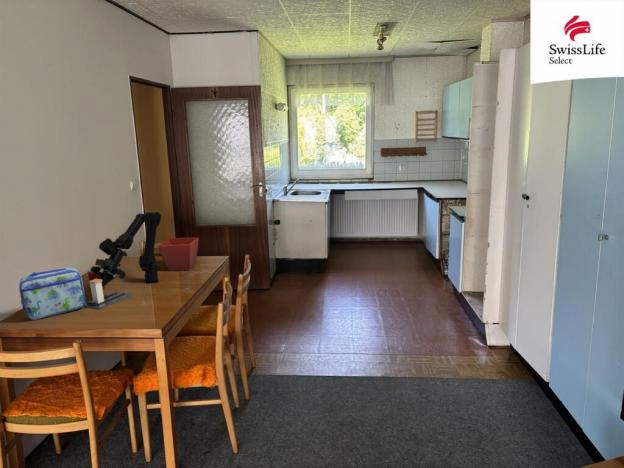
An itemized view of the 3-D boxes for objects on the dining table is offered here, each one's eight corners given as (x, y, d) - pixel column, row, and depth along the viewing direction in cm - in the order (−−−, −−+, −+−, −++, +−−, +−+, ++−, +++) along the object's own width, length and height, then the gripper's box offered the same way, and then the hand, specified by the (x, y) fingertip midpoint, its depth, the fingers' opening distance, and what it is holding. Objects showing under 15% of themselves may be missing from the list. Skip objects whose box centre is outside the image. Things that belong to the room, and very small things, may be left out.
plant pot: (171, 263, 297) (168, 238, 293) (201, 262, 296) (198, 237, 292) (161, 273, 278) (157, 245, 274) (192, 272, 277) (189, 244, 273)
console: (114, 292, 246) (113, 288, 245) (131, 295, 241) (131, 290, 240) (82, 306, 228) (81, 301, 227) (100, 309, 223) (99, 304, 222)
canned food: (100, 291, 250) (97, 271, 247) (87, 290, 251) (84, 271, 249) (109, 286, 257) (106, 267, 255) (96, 286, 259) (93, 266, 256)
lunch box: (24, 323, 210) (16, 279, 205) (23, 316, 219) (15, 273, 214) (87, 309, 223) (81, 267, 219) (84, 303, 232) (78, 262, 228)
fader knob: (99, 299, 232) (95, 278, 230) (105, 300, 230) (102, 279, 228) (92, 302, 228) (88, 281, 226) (98, 303, 227) (95, 282, 224)
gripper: (90, 250, 234) (74, 278, 227) (118, 253, 227) (103, 281, 219) (105, 261, 243) (90, 288, 236) (132, 264, 236) (118, 292, 228)
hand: (100, 287), depth 230 cm, fingers closed, pressing on fader knob
